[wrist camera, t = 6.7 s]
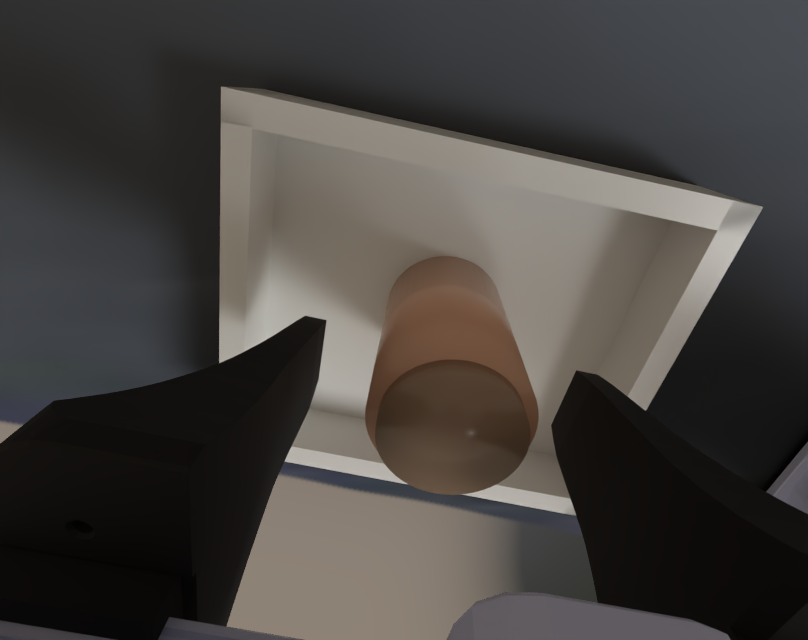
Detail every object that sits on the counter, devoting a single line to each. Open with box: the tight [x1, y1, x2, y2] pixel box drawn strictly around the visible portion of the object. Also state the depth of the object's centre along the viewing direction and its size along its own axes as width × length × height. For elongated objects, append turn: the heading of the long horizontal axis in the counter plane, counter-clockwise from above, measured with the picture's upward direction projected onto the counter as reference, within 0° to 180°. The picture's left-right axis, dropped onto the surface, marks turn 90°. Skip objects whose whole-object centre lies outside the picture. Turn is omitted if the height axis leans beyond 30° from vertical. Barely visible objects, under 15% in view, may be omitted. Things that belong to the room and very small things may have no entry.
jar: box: [365, 256, 539, 495], centre depth 13 cm, size 4×4×7 cm
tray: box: [219, 86, 763, 516], centre depth 15 cm, size 14×12×3 cm
